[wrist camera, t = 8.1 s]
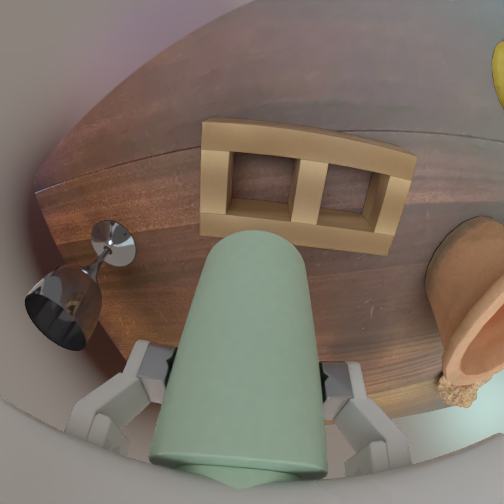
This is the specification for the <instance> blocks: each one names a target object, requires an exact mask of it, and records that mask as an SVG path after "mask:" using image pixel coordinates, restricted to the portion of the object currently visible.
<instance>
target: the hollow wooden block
mask: <svg viewBox="0 0 504 504" xmlns="http://www.w3.org/2000/svg"><path fill="white" fill-rule="evenodd" d="M201 149H202V150H201V172H200V235H203V236H213V237H222V238H225V237H227V236H229V235H231V234H234V233H237V232H241V231H247V230H260V231H266V232H270V233H274V234H276V235H278V236H281V237H282V238H284V239H286V240H287V241H289V242H290V243H291V244H292V245H298V246H307V247H316V248H325V249H334V250H342V251H351V252H359V253H368V254H376V255H385V256H387V255H388V252H389V249H390V247H391V244H392V241H393V238H394V235H395V233H396V230H397V227H398V224H399V221H400V218H401V215H402V212H403V209H404V205H405V202H406V199H407V195H408V192H409V189H410V185H411V181H412V178H413V174H414V170H415V166H416V162H417V158H418V157H417V156H416V155H414V154H412V153H410V152H409V151H407V150H405V149H403V148H401V147H399V146H396V145H393V144H389V143H385V142H381V141H377V140H373V139H369V138H365V137H360V136H356V135H351V134H347V133H342V132H337V131H331V130H326V129H320V128H314V127H308V126H302V125H295V124H287V123H280V122H271V121H262V120H251V119H239V118H223V117H212V118H210V119H207V120H206V121H204V122H202V140H201ZM235 152H244V153H254V154H264V155H273V156H281V157H289V158H295V160H294V167H293V173H292V180H291V187H290V193H289V200H288V203H280V202H271V201H262V200H253V199H243V198H232V197H231V196H232V181H233V167H234V153H235ZM328 163H329V164H335V165H341V166H346V167H352V168H357V169H362V170H367V171H372V176H371V180H370V184H369V188H368V192H367V196H366V200H365V204H364V208H363V211H362V214H360V213H354V212H347V211H341V210H334V209H327V208H320V205H321V200H322V195H323V190H324V185H325V180H326V175H327V170H328Z"/></svg>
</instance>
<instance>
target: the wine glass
mask: <svg viewBox="0 0 504 504" xmlns="http://www.w3.org/2000/svg"><path fill="white" fill-rule="evenodd" d="M91 241H92V245H93V247H94V249H95V251H96V253H97V254H98V255H99V257H98V258H97V259H96V260H94V261H93V262H92V263H91V264H89V265H87V266H78V265H62V266H60V267H58V268H56V269H54V270H53V271H51V272H49V273H48V274H47V275H46V276H44V277H43V278H42V279H41V280H40V281H39V282H38V283H37V284H36V285H35V286H34V287H33V289H32V290H31V291H30V292H29V294H28V295H27V296H26V299H25V307H26V310H27V313H28V315H29V317H30V319H31V320H32V322H33V323H34V324H35V326H36V327H37V328H38V329H39V330H40V331H41V332H42V333H43V334H44V335H45V336H46V337H47V338H48V339H50V340H51V341H53V342H54V343H56V344H57V345H59V346H61V347H63V348H66V349H68V350H73V351H80V350H82V349H84V348H85V347H86V345H87V343H88V341H89V339H90V337H91V335H92V333H93V331H94V329H95V327H96V324H97V321H98V319H99V315H100V312H101V307H102V294H101V289H100V286H99V283H98V280H97V273H98V270H99V268H100V266H101V264H102V262H103V261H106V262H107V263H109V264H111V265H114V266H125V265H128V264H129V263H131V262H132V261H133V259H134V258H135V254H136V246H135V242H134V240H133V237H132V236H131V234H130V233H129V232H128V230H127V229H125V228H124V227H123V226H122V225H120V224H118V223H116V222H114V221H109V220H105V221H101V222H99V223H97V224H96V225H95V226H94V228H93V230H92V233H91Z"/></svg>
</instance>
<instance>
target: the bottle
mask: <svg viewBox="0 0 504 504" xmlns="http://www.w3.org/2000/svg"><path fill="white" fill-rule="evenodd" d="M148 457H149V460H150V462H151V463H152V464H154V465H158V466H162V467H167V468H171V469H176V470H181V471H186V472H191V473H197V474H201V475H204V476H207V477H209V478H212V479H215V480H217V481H219V482H222V483H224V484H226V485H228V486H231V487H234V488H236V489H243V488H249V487H253V486H256V485H261V484H264V483H269V482H274V481H303V480H321V479H323V478H324V477H326V475H327V474H328V462H327V446H326V433H325V420H324V409H323V398H322V388H321V379H320V369H319V361H318V352H317V344H316V337H315V329H314V322H313V314H312V307H311V301H310V294H309V287H308V281H307V275H306V269H305V263H304V260H303V258H302V256H301V254H300V253H299V251H298V250H297V249H296V248H295V247H294V246H293V245H292V244H291V243H290V242H289V241H287V240H286V239H284V238H282V237H281V236H278V235H276V234H274V233H270V232H266V231H260V230H247V231H241V232H237V233H234V234H231V235H229V236H227V237H225V238H223V239H222V240H220V241H219V242H218V243H217V244H216V245H215V246H214V247H213V248H212V249H211V251H210V252H209V254H208V256H207V258H206V261H205V264H204V267H203V270H202V273H201V276H200V279H199V282H198V285H197V288H196V291H195V294H194V298H193V301H192V304H191V307H190V310H189V313H188V316H187V320H186V323H185V326H184V329H183V332H182V336H181V339H180V342H179V346H178V349H177V352H176V356H175V359H174V362H173V366H172V369H171V373H170V376H169V380H168V383H167V387H166V391H165V394H164V398H163V401H162V405H161V409H160V413H159V416H158V420H157V424H156V428H155V432H154V436H153V440H152V444H151V448H150V452H149V456H148Z"/></svg>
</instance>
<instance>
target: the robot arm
mask: <svg viewBox="0 0 504 504" xmlns="http://www.w3.org/2000/svg"><path fill="white" fill-rule="evenodd" d="M176 352H177V347H174V346H169V345H164V344H159V343H154V342H150V341H145V340H140V339H138V340H137V341H136V343H135V345H134V347H133V349H132V352H131V354H130V357H129V359H128V361H127V364H126V367H125V369H124V371H123V373H118V374H117V375H115V376H114V377H112V378H111V379H110V380H108V381H107V382H105V383H104V384H102V385H101V386H100V387H98V388H97V389H95V390H94V391H92V392H91V393H90V394H88V395H87V396H85V397H84V398H82V399H81V400H79V401H78V402H76V403H75V406H74V408H73V410H72V413H71V415H70V418H69V420H68V423H67V425H66V428H65V430H64V432H63V431H60V430H58V429H56V428H54V427H52V426H50V425H48V424H46V423H45V422H43V421H41V420H39V419H37V418H35V417H34V416H32V415H30V414H28V413H27V412H25V411H23V410H21V409H20V408H18V407H17V406H15V405H13V404H12V403H10V402H9V401H7V400H6V399H4V398H3V397H1V396H0V504H504V434H502V433H497V434H495V435H492V436H491V437H488V438H486V439H484V440H482V441H479V442H477V443H475V444H472V445H470V446H467V447H465V448H462V449H460V450H457V451H454V452H451V453H449V454H446V455H443V456H440V457H437V458H434V459H431V460H427V461H424V462H420V463H417V464H413V465H412V464H411V458H410V452H409V447H408V442H407V437H406V435H405V434H404V433H403V432H402V430H401V429H400V428H399V427H398V426H397V425H396V424H395V423H394V422H393V421H392V420H391V419H390V418H389V417H388V416H387V415H386V414H385V413H384V411H383V410H382V409H381V408H380V407H379V406H378V405H377V404H376V403H375V402H374V401H373V400H372V399H371V398H367V395H366V390H365V385H364V381H363V376H362V372H361V367H360V364H359V362H345V361H320V362H319V369H320V379H321V388H322V398H323V409H324V420H330V419H334V420H333V421H334V423H335V424H336V426H337V427H338V429H339V430H340V431H341V433H342V434H343V436H344V437H345V438H346V440H347V441H348V443H349V444H350V446H351V447H352V448H353V450H354V451H355V453H356V454H355V455H354V456H352V457H351V458H349V459H348V460H347V461H346V462H345V477H344V478H334V479H322V480H303V481H274V482H269V483H264V484H261V485H256V486H253V487H249V488H243V489H236V488H234V487H231V486H228V485H226V484H224V483H222V482H219V481H217V480H215V479H212V478H209V477H207V476H204V475H201V474H197V473H191V472H186V471H181V470H176V469H171V468H167V467H162V466H158V465H154V464H150V463H146V462H143V461H139V460H136V459H132V458H129V457H127V452H128V449H129V445H130V441H129V439H128V438H127V437H126V436H125V435H124V434H123V433H122V431H121V430H122V428H124V427H125V426H126V425H127V424H128V423H129V422H130V421H131V420H132V419H134V418H135V417H136V416H137V415H138V414H139V413H140V412H141V411H142V410H143V409H144V408H145V407H146V406H147V405H148V404H150V401H151V402H156V403H161V404H162V401H163V398H164V394H165V391H166V387H167V383H168V380H169V376H170V373H171V369H172V366H173V362H174V359H175V356H176Z"/></svg>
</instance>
